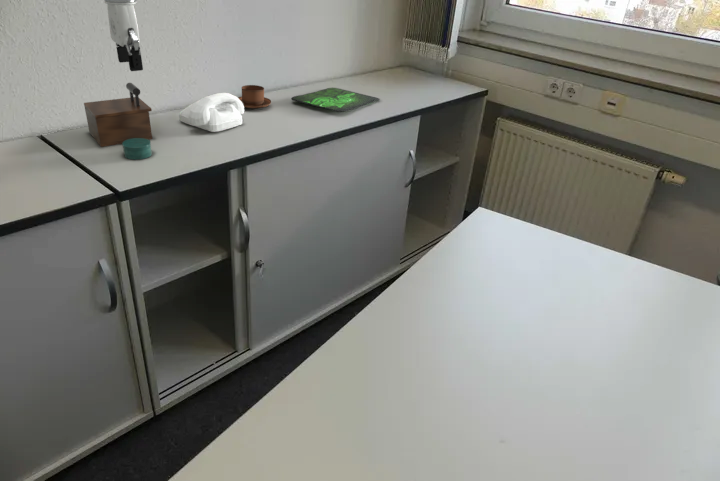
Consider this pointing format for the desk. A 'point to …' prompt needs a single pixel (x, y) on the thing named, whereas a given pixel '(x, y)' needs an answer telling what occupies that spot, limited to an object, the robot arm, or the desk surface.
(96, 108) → the lid
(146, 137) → the box
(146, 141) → the teal short cylinder
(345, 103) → the mouse mat
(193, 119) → the telephone
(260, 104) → the cup and saucer
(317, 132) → the desk surface
